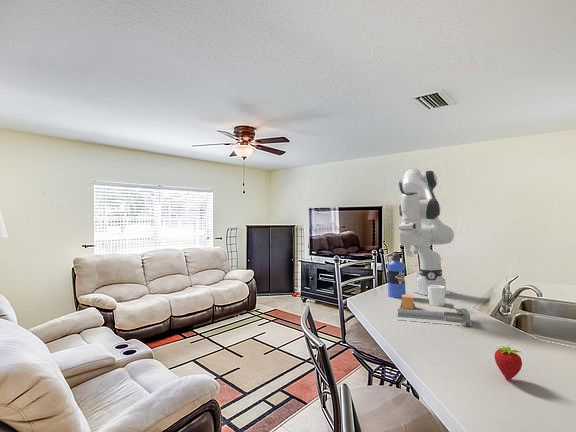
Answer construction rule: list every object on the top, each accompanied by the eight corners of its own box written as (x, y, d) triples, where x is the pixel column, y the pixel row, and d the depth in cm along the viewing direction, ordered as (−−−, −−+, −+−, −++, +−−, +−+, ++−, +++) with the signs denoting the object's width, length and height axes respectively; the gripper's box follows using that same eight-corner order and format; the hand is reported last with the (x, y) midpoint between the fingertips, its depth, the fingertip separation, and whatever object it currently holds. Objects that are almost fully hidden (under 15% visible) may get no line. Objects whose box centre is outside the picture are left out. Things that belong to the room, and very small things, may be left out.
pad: (400, 308, 152) (400, 301, 152) (416, 309, 150) (415, 302, 150) (399, 312, 146) (399, 304, 146) (416, 313, 143) (415, 305, 143)
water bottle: (384, 298, 173) (382, 252, 173) (397, 296, 176) (395, 251, 177) (396, 301, 164) (395, 254, 165) (409, 299, 168) (408, 253, 168)
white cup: (444, 310, 147) (443, 288, 148) (426, 307, 152) (425, 287, 152) (447, 306, 154) (446, 285, 154) (430, 303, 159) (429, 284, 159)
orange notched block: (402, 308, 146) (401, 296, 146) (402, 305, 151) (402, 294, 151) (413, 309, 145) (413, 297, 145) (413, 306, 149) (413, 295, 149)
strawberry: (515, 374, 86) (513, 337, 86) (528, 388, 79) (526, 348, 79) (491, 372, 88) (489, 336, 88) (501, 385, 80) (499, 346, 81)
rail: (398, 313, 144) (398, 303, 144) (468, 319, 133) (467, 308, 133) (397, 320, 134) (397, 309, 134) (472, 326, 124) (471, 315, 124)
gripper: (412, 225, 160) (413, 253, 159) (396, 225, 144) (397, 256, 144) (425, 225, 156) (426, 253, 155) (410, 225, 140) (411, 256, 139)
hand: (412, 254), depth 149 cm, fingers open, 8 cm apart
